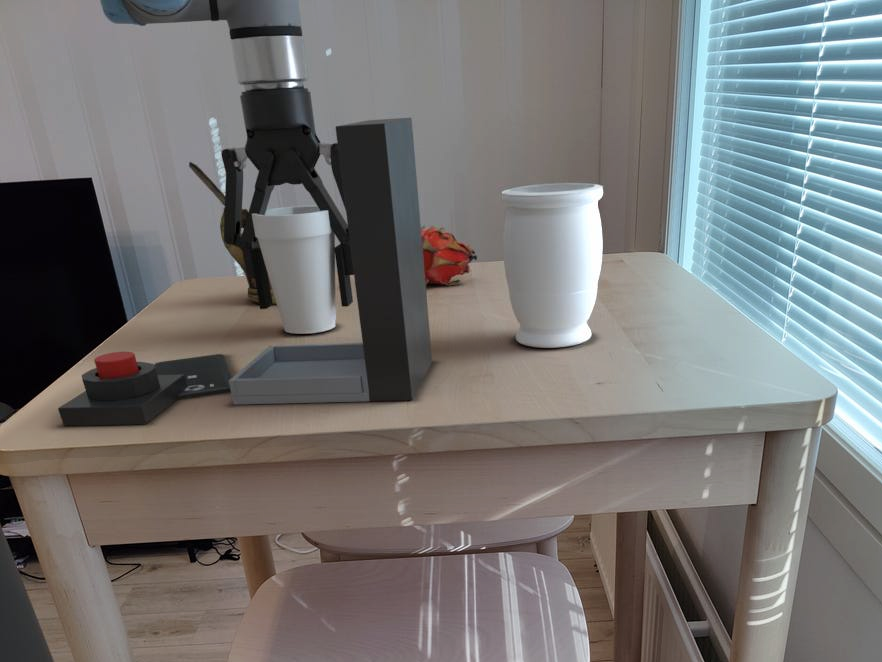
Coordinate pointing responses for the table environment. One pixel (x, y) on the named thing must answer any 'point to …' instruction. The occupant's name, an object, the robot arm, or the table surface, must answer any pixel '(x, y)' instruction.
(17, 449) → the table surface
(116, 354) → the button
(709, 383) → the table surface
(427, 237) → the dragon fruit
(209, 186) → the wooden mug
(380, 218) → the coffee maker
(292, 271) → the foam cup
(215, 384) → the smartphone
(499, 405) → the table surface
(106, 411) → the panel
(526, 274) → the jar
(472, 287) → the table surface
